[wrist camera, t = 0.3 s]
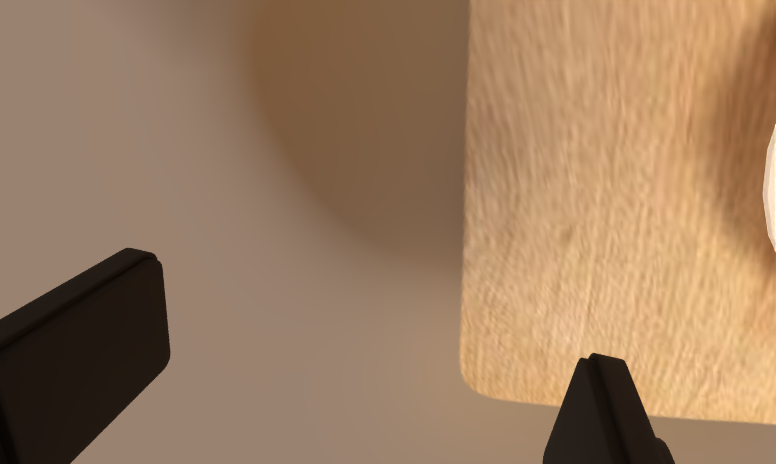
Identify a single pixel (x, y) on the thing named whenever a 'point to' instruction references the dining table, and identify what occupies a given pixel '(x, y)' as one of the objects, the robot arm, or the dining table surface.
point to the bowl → (770, 189)
